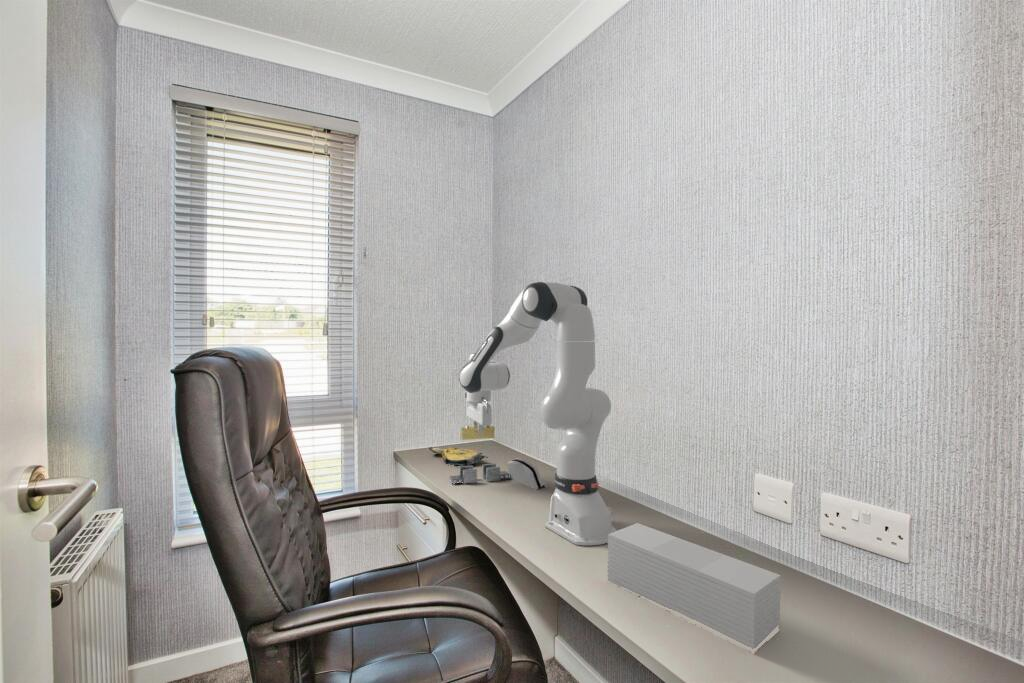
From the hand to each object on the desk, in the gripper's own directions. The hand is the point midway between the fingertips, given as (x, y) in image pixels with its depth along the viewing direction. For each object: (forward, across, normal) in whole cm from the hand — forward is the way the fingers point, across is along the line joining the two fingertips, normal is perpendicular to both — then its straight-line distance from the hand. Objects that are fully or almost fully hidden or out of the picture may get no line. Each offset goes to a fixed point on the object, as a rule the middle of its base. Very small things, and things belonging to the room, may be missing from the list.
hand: (478, 433), depth 180 cm
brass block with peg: (+2, 0, 0) cm, 2 cm away
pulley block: (+19, +34, 0) cm, 39 cm away
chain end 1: (+18, +2, +5) cm, 19 cm away
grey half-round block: (+18, -7, -16) cm, 25 cm away
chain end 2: (+18, +2, -9) cm, 20 cm away
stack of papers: (+17, -92, -16) cm, 95 cm away
